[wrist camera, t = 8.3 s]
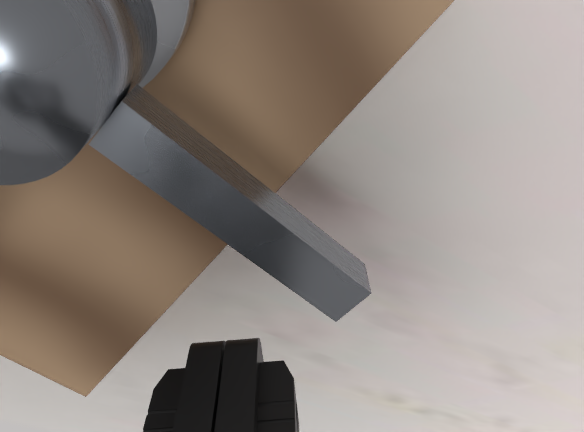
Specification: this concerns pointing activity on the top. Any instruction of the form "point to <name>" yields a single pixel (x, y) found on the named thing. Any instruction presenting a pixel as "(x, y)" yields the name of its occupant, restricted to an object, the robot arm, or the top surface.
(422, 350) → the top surface
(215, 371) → the robot arm
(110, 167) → the board
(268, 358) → the top surface
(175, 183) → the capstan
